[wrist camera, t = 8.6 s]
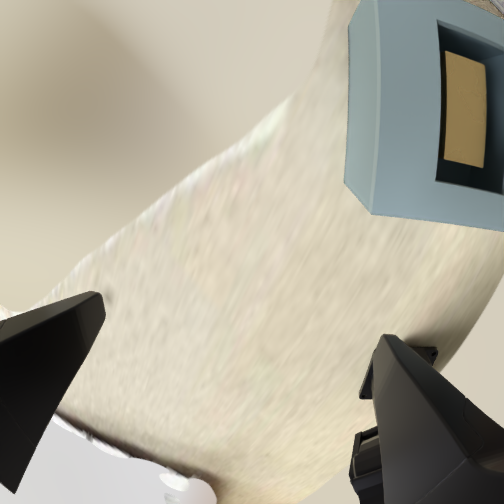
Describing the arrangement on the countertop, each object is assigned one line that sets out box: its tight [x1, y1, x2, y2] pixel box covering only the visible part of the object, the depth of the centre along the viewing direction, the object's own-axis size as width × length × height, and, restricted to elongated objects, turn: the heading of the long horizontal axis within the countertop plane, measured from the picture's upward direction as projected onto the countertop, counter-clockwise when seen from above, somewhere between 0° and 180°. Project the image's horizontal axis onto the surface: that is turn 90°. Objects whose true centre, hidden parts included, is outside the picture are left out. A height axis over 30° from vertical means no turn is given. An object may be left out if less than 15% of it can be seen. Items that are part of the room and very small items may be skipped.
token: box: [438, 51, 486, 168], centre depth 13 cm, size 6×2×6 cm, turn 179°
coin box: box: [344, 0, 504, 232], centre depth 13 cm, size 11×10×8 cm
